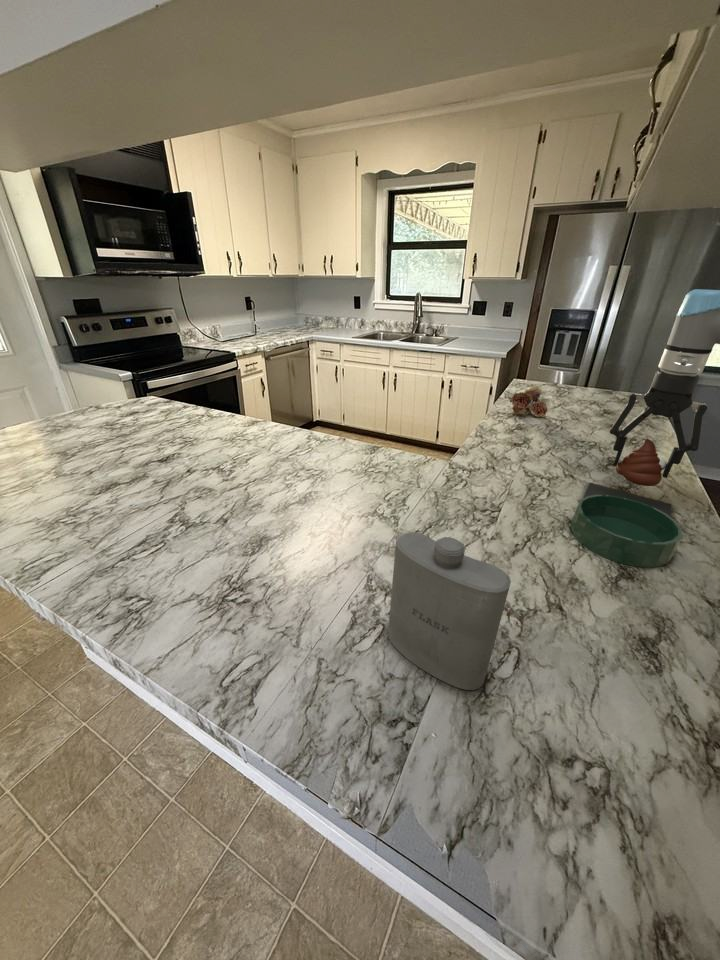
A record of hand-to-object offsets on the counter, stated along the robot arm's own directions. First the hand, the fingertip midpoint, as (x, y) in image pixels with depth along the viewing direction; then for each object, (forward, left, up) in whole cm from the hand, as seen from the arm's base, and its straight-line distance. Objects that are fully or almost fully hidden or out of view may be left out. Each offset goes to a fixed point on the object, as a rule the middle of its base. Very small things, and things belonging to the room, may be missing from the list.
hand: (639, 469), depth 92 cm
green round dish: (0, +18, -9) cm, 20 cm away
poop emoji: (0, 0, -2) cm, 2 cm away
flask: (+19, +68, -10) cm, 71 cm away
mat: (0, 0, -9) cm, 9 cm away
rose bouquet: (+38, -57, -10) cm, 69 cm away
